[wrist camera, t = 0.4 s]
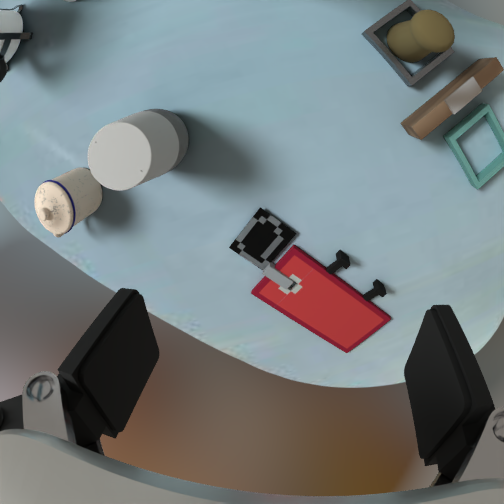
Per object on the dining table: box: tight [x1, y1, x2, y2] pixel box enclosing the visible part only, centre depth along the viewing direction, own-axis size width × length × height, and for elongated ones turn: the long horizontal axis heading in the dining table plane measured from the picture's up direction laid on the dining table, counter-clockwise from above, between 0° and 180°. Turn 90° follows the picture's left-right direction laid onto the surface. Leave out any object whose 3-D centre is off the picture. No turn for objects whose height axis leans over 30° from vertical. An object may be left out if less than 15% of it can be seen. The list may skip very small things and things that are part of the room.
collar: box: [443, 103, 504, 190], centre depth 33 cm, size 9×9×2 cm
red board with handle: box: [229, 208, 391, 353], centre depth 49 cm, size 30×3×15 cm
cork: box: [387, 10, 455, 63], centre depth 25 cm, size 6×6×11 cm
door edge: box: [400, 57, 504, 140], centre depth 30 cm, size 2×18×5 cm, turn 135°
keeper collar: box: [362, 0, 454, 86], centre depth 29 cm, size 9×9×2 cm
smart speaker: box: [88, 109, 189, 191], centre depth 36 cm, size 10×9×14 cm
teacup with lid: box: [35, 168, 102, 237], centre depth 44 cm, size 12×9×12 cm
